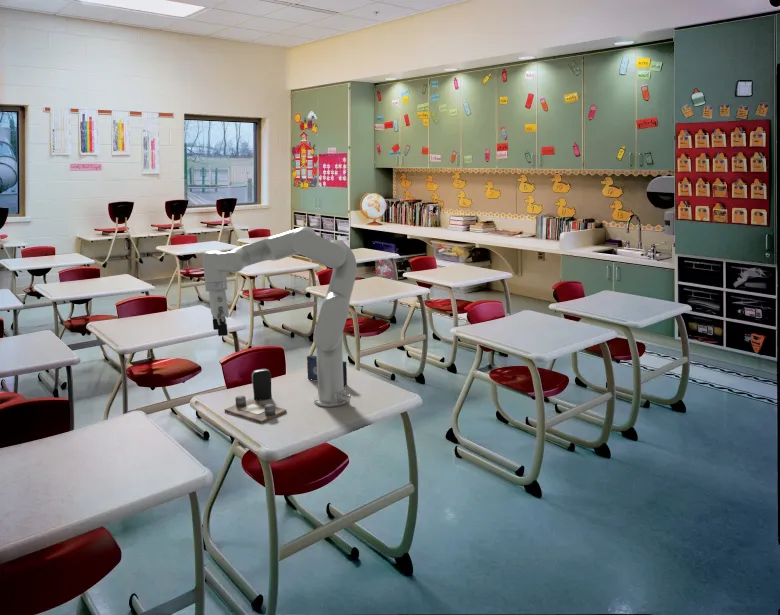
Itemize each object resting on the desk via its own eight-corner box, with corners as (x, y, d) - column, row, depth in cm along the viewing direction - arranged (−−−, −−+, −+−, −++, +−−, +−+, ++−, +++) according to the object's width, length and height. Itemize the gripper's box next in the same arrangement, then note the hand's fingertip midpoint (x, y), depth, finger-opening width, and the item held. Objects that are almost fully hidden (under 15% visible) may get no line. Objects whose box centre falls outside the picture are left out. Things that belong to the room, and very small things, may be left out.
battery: (270, 395, 245) (268, 366, 243) (272, 398, 242) (270, 369, 239) (252, 398, 243) (250, 369, 240) (254, 401, 239) (252, 372, 237)
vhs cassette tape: (347, 385, 255) (346, 361, 253) (343, 387, 253) (342, 363, 250) (312, 377, 265) (311, 354, 263) (307, 379, 262) (306, 356, 260)
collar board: (286, 412, 229) (285, 401, 228) (261, 423, 219) (261, 412, 218) (249, 401, 239) (249, 391, 238) (224, 412, 230) (223, 401, 229)
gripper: (231, 288, 221) (235, 336, 225) (222, 280, 236) (226, 325, 240) (209, 291, 218) (214, 339, 222) (201, 283, 233) (205, 328, 237)
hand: (220, 332), depth 231 cm, fingers open, 9 cm apart
